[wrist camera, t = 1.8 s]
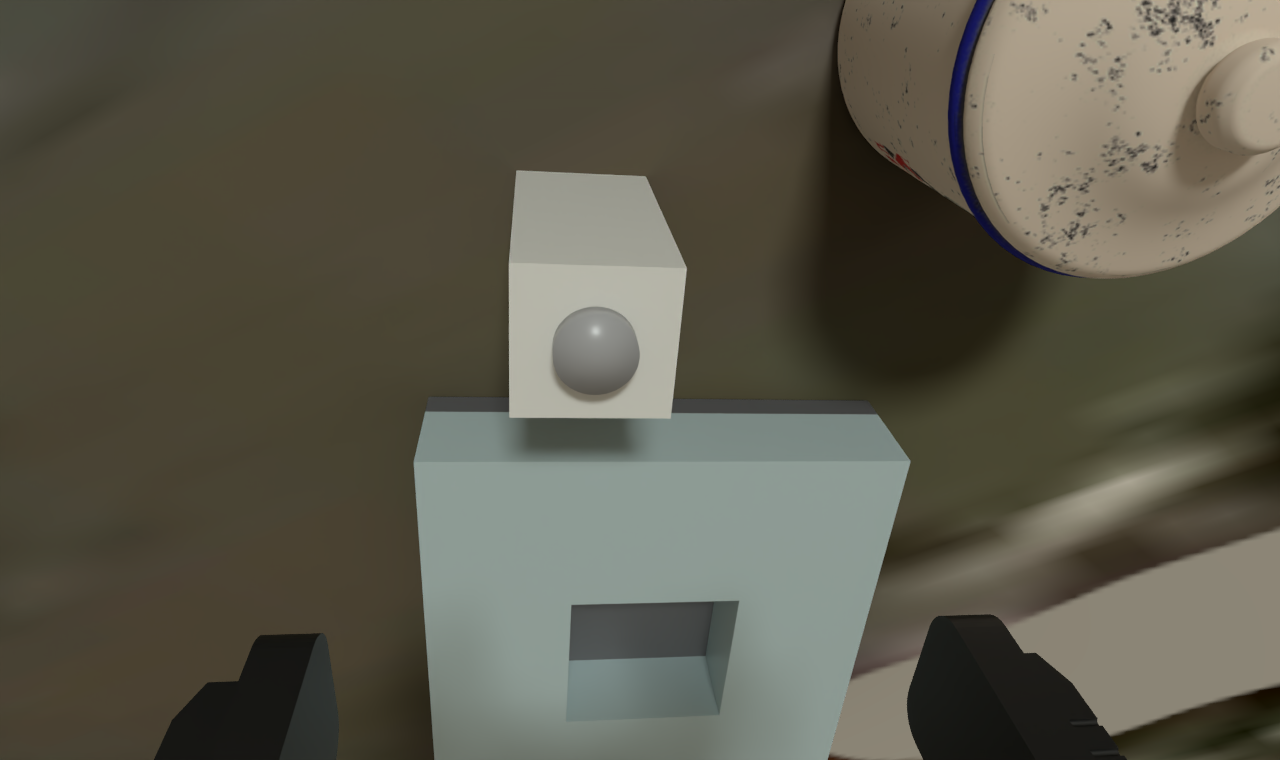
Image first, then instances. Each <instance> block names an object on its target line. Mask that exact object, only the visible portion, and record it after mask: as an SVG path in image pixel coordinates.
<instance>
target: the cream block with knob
mask: <svg viewBox="0 0 1280 760" xmlns="http://www.w3.org/2000/svg"><path fill="white" fill-rule="evenodd" d="M686 271H687V268H686V265H685V263H684V261H683V259H682V256H681V254H680V252H679V250H678V247H677V245H676V243H675V241H674V239H673V236H672V234H671V232H670V230H669V227H668V225H667V223H666V221H665V218H664V216H663V214H662V212H661V210H660V207H659V205H658V203H657V201H656V198H655V196H654V194H653V192H652V189H651V187H650V185H649V183H648V181H647V178H646V176H625V175H603V174H581V173H559V172H537V171H516V183H515V195H514V207H513V219H512V231H511V243H510V256H509V418H664V419H671V411H672V402H673V393H674V383H675V374H676V365H677V355H678V346H679V337H680V327H681V318H682V308H683V299H684V290H685V280H686Z"/></svg>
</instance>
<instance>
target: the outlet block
mask: <svg viewBox="0 0 1280 760" xmlns="http://www.w3.org/2000/svg"><path fill="white" fill-rule="evenodd" d="M909 465H910V460H909V458H908V457H907V456H906V454H905V453H904V451H903V450H902V448H901V447H900V446H899V444H898V443H897V441H896V440H895V439H894V437H893V436H892V434H891V433H890V431H889V430H888V429H887V427H886V426H885V424H884V423H883V422H882V420H881V419H880V417H879V416H878V414H877V413H876V412H875V410H874V409H873V407H872V406H871V405H870V403H869V402H868V401H847V400H733V399H673V402H672V411H671V419H664V418H509V398H505V397H429V398H428V402H427V407H426V411H425V415H424V420H423V424H422V428H421V433H420V437H419V441H418V446H417V450H416V454H415V459H414V473H415V488H416V502H417V516H418V531H419V545H420V559H421V574H422V588H423V602H424V617H425V631H426V645H427V660H428V674H429V688H430V703H431V717H432V731H433V746H434V760H828V756H829V753H830V749H831V745H832V742H833V738H834V735H835V731H836V727H837V724H838V720H839V717H840V713H841V709H842V706H843V702H844V698H845V695H846V691H847V688H848V684H849V681H850V677H851V673H852V670H853V666H854V663H855V659H856V656H857V652H858V648H859V645H860V641H861V638H862V634H863V630H864V627H865V623H866V620H867V616H868V612H869V609H870V605H871V602H872V598H873V594H874V591H875V587H876V584H877V580H878V576H879V573H880V569H881V566H882V562H883V558H884V555H885V551H886V548H887V544H888V540H889V537H890V533H891V530H892V526H893V523H894V519H895V515H896V512H897V508H898V505H899V501H900V497H901V494H902V490H903V487H904V483H905V479H906V476H907V472H908V469H909Z"/></svg>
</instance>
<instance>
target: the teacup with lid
mask: <svg viewBox="0 0 1280 760" xmlns="http://www.w3.org/2000/svg"><path fill="white" fill-rule="evenodd" d="M838 70H839V78H840V83H841V89H842V92H843V96H844V99H845V103H846V105H847V108H848V110H849V113H850V115H851V117H852V119H853V120H854V122H855V124H856V126H857V128H858V129H859V130H860V132H861V133H862V135H863V136H864V138H865V139H866V140H867V141H868V142H869V143H870V144H871V146H872V147H873V148H874V149H875V150H877V151H878V152H879V153H880V154H881V155H882V156H883V157H885V158H886V159H888V160H889V161H890V162H892V163H893V164H895V165H896V166H898V167H899V168H901V169H903V170H904V171H906V172H907V173H909V174H910V175H912V176H913V177H915V178H916V179H918V180H919V181H921V182H922V183H924V184H926V185H927V186H929V187H930V188H932V189H933V190H935V191H936V192H938V193H939V194H941V195H942V196H944V197H946V198H947V199H949V200H950V201H952V202H953V203H955V204H956V205H958V206H959V207H961V208H962V209H964V210H965V211H967V212H969V213H970V214H972V215H973V216H975V218H976V220H977V221H978V222H979V224H980V225H981V226H982V227H983V228H984V230H985V231H986V232H987V233H988V234H989V235H990V236H991V237H992V238H993V239H994V240H995V241H996V242H997V243H998V244H999V245H1000V246H1001V247H1003V248H1004V249H1006V250H1007V251H1008V252H1010V253H1011V254H1013V255H1014V256H1015V257H1017V258H1019V259H1021V260H1023V261H1025V262H1027V263H1028V264H1030V265H1033V266H1036V267H1038V268H1041V269H1043V270H1046V271H1049V272H1053V273H1057V274H1061V275H1067V276H1073V277H1084V278H1099V279H1114V278H1128V277H1135V276H1141V275H1147V274H1151V273H1155V272H1159V271H1164V270H1167V269H1171V268H1174V267H1177V266H1180V265H1183V264H1186V263H1188V262H1191V261H1193V260H1196V259H1198V258H1200V257H1203V256H1205V255H1207V254H1209V253H1211V252H1213V251H1215V250H1217V249H1219V248H1221V247H1223V246H1224V245H1226V244H1228V243H1229V242H1231V241H1233V240H1234V239H1236V238H1238V237H1239V236H1241V235H1242V234H1244V233H1245V232H1247V231H1248V230H1250V229H1251V228H1253V227H1254V226H1255V225H1257V224H1258V223H1260V222H1261V221H1262V220H1263V219H1265V218H1266V217H1267V216H1268V215H1270V214H1271V213H1272V212H1273V211H1275V210H1276V209H1277V208H1278V207H1279V206H1280V0H846V1H845V5H844V9H843V12H842V17H841V23H840V28H839V37H838Z"/></svg>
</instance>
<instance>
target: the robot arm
mask: <svg viewBox="0 0 1280 760" xmlns="http://www.w3.org/2000/svg"><path fill="white" fill-rule="evenodd" d="M907 712H908V720H909V725H910V729H911V732H912V735H913V738H914V740H915V743H916V745H917V747H918V749H919V751H920V753H921V756H922V758H923V760H1127V759H1126V758H1125V756H1120V754H1119V752H1118V747H1117V745H1116V744H1115V742H1114V741H1113V740H1112V738H1111V737H1110V735H1109V734H1108V733H1107V731H1106V730H1105V729H1104V727H1103V726H1099V725H1098V723H1097V717H1096V716H1095V715H1094V713H1093V712H1092V710H1091V709H1090V708H1089V706H1088V705H1087V704H1086V702H1085V701H1084V699H1083V698H1082V697H1081V695H1080V694H1079V692H1078V691H1077V689H1076V688H1075V687H1074V685H1073V684H1072V683H1071V682H1070V681H1069V680H1068V679H1066V678H1065V677H1064V676H1063V675H1062V674H1061V673H1059V672H1058V671H1057V670H1056V669H1055V668H1053V667H1052V666H1051V665H1050V664H1048V663H1047V662H1046V661H1045V660H1044V659H1043V658H1041V657H1040V656H1039V655H1038V654H1036V653H1023V651H1022V650H1021V649H1020V647H1019V646H1018V644H1017V643H1016V641H1015V640H1014V638H1013V637H1012V636H1011V634H1010V632H1009V631H1008V629H1007V628H1006V626H1005V625H1004V624H1003V623H1002V621H1001V620H1000V619H998V618H997V617H996V616H994V615H957V616H938V617H936V618H935V619H934V620H933V621H932V623H931V625H930V627H929V631H928V634H927V637H926V640H925V643H924V646H923V649H922V652H921V655H920V658H919V661H918V664H917V667H916V670H915V673H914V676H913V679H912V682H911V685H910V688H909V692H908V698H907ZM338 733H339V721H338V710H337V704H336V697H335V690H334V684H333V677H332V670H331V664H330V657H329V650H328V644H327V640H326V637H325V635H324V634H323V633H317V634H285V635H260V636H259V637H258V638H257V639H256V640H255V642H254V644H253V646H252V648H251V650H250V653H249V656H248V658H247V661H246V663H245V666H244V668H243V671H242V673H241V676H240V679H239V681H235V682H209V683H207V684H206V685H205V686H204V687H203V688H202V689H201V690H200V691H199V692H198V693H197V694H196V695H195V696H194V698H193V699H192V700H191V701H190V702H189V703H188V704H187V705H186V706H185V707H184V708H183V709H182V710H181V711H180V712H179V713H178V714H177V716H176V717H175V718H174V719H173V720H172V721H171V724H170V726H169V728H168V730H167V732H166V735H165V737H164V739H163V741H162V743H161V746H160V748H159V750H158V752H157V754H156V756H155V759H154V760H336V756H337V747H338Z"/></svg>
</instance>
